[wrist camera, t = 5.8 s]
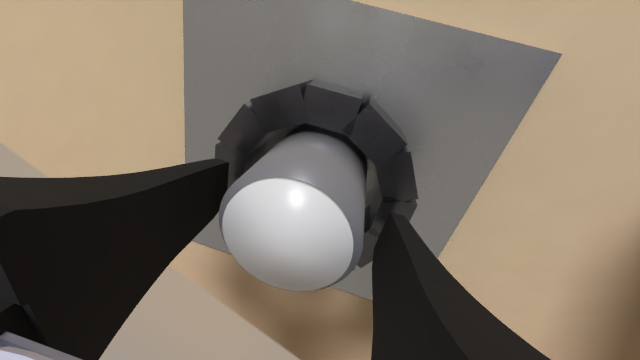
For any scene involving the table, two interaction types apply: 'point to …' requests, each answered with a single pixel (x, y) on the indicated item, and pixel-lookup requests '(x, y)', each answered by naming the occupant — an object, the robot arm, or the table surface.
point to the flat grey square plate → (358, 102)
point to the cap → (299, 211)
